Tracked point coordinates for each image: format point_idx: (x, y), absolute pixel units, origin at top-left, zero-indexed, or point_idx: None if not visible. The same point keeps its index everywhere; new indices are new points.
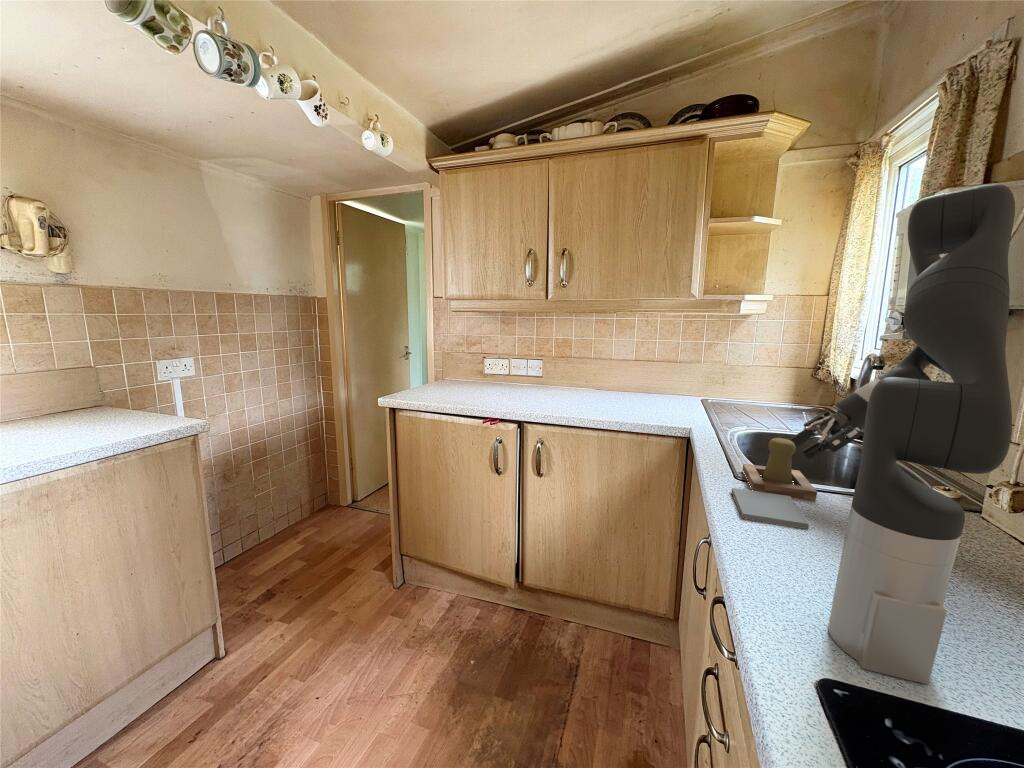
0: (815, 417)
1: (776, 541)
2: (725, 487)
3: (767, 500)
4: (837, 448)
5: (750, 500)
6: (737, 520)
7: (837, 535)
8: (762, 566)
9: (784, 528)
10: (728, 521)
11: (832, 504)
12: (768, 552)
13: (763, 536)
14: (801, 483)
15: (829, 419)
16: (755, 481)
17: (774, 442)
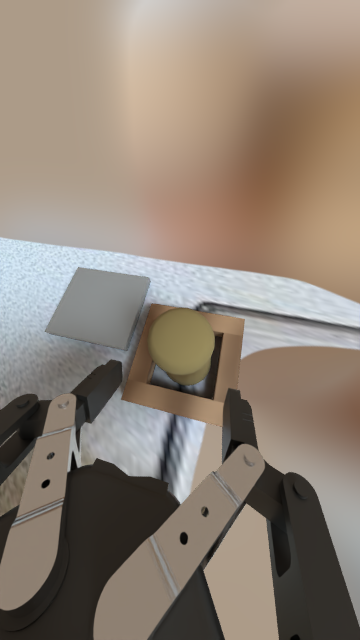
0: (346, 612)
1: (34, 287)
2: (165, 278)
3: (109, 308)
4: (13, 435)
5: (110, 287)
6: (78, 265)
7: (30, 363)
8: (4, 260)
9: (55, 306)
10: (77, 256)
11: (113, 422)
12: (20, 272)
13: (45, 278)
14: (157, 389)
15: (102, 593)
16: (158, 308)
17: (170, 309)
